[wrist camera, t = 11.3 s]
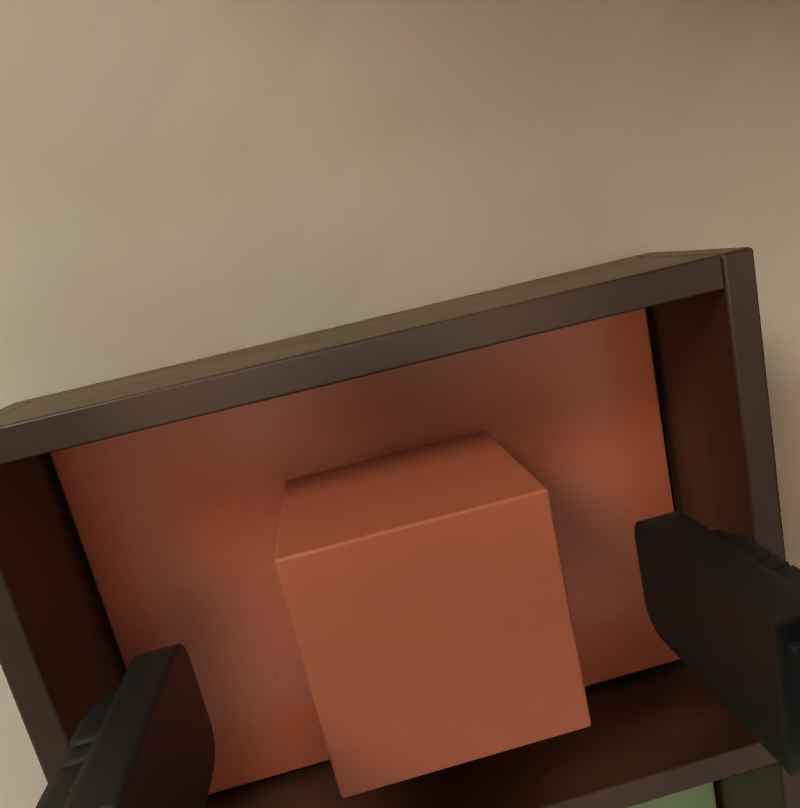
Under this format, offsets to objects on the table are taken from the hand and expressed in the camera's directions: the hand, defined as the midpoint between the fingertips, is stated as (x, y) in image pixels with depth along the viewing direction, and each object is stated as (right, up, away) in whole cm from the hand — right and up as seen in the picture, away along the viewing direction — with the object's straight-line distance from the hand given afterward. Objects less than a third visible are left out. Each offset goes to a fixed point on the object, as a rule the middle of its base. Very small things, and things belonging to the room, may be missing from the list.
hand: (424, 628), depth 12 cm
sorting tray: (+1, -4, +5) cm, 6 cm away
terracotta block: (0, +1, +3) cm, 3 cm away
